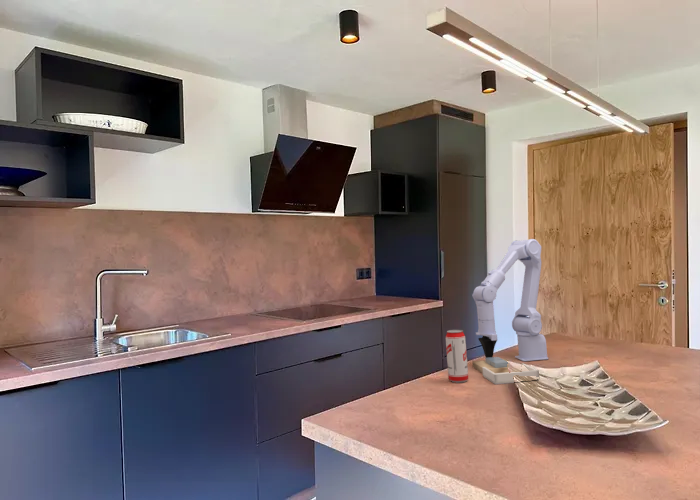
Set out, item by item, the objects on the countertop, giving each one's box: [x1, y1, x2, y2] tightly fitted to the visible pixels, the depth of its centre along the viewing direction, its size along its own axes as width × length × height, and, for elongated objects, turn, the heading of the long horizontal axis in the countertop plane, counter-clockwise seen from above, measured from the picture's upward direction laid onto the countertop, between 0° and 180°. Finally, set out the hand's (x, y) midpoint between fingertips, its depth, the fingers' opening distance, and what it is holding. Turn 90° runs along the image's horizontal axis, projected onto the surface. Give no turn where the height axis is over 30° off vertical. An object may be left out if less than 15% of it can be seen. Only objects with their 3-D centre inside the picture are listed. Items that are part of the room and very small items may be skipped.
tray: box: [482, 362, 540, 385], centre depth 155 cm, size 14×11×3 cm
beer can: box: [445, 329, 469, 384], centre depth 157 cm, size 6×6×16 cm
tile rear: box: [484, 356, 504, 365], centre depth 169 cm, size 4×4×2 cm
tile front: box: [490, 360, 508, 368], centre depth 164 cm, size 4×4×2 cm
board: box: [471, 358, 510, 375], centre depth 168 cm, size 12×14×2 cm
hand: (489, 357), depth 174 cm, fingers closed
